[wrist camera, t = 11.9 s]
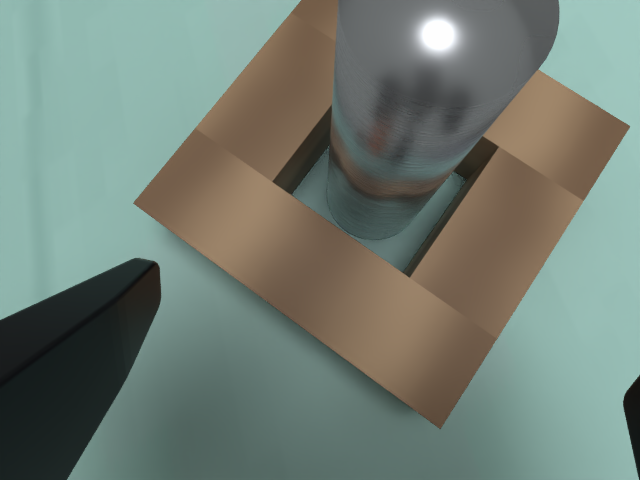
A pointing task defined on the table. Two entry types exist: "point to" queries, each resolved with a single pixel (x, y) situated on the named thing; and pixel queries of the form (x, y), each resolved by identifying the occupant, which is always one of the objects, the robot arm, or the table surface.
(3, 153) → the table surface
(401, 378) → the collar block
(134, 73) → the table surface
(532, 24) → the grey glossy round cylinder
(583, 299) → the table surface
